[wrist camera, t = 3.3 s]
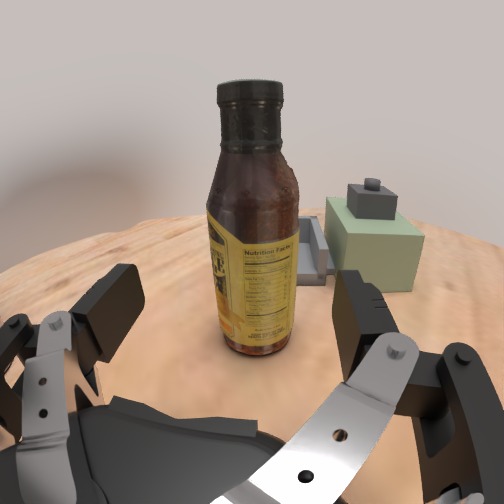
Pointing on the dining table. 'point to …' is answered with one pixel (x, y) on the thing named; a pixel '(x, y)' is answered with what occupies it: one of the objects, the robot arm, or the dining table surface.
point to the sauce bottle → (253, 219)
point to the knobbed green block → (361, 240)
